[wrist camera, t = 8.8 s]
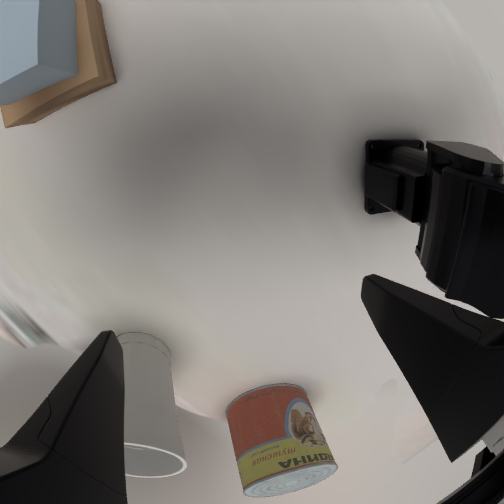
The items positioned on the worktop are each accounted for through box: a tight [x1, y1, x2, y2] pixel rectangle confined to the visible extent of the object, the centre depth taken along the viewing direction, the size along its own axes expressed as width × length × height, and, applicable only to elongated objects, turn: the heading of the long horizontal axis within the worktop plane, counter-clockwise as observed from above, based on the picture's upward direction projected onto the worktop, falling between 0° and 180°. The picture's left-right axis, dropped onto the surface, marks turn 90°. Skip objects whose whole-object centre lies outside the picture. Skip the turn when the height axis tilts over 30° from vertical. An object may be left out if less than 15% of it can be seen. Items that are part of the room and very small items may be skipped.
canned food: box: [226, 384, 338, 497], centre depth 30 cm, size 11×11×12 cm
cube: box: [0, 0, 78, 105], centre depth 7 cm, size 5×5×5 cm
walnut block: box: [0, 0, 117, 128], centre depth 12 cm, size 7×7×4 cm
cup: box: [117, 332, 187, 478], centre depth 21 cm, size 8×8×12 cm
